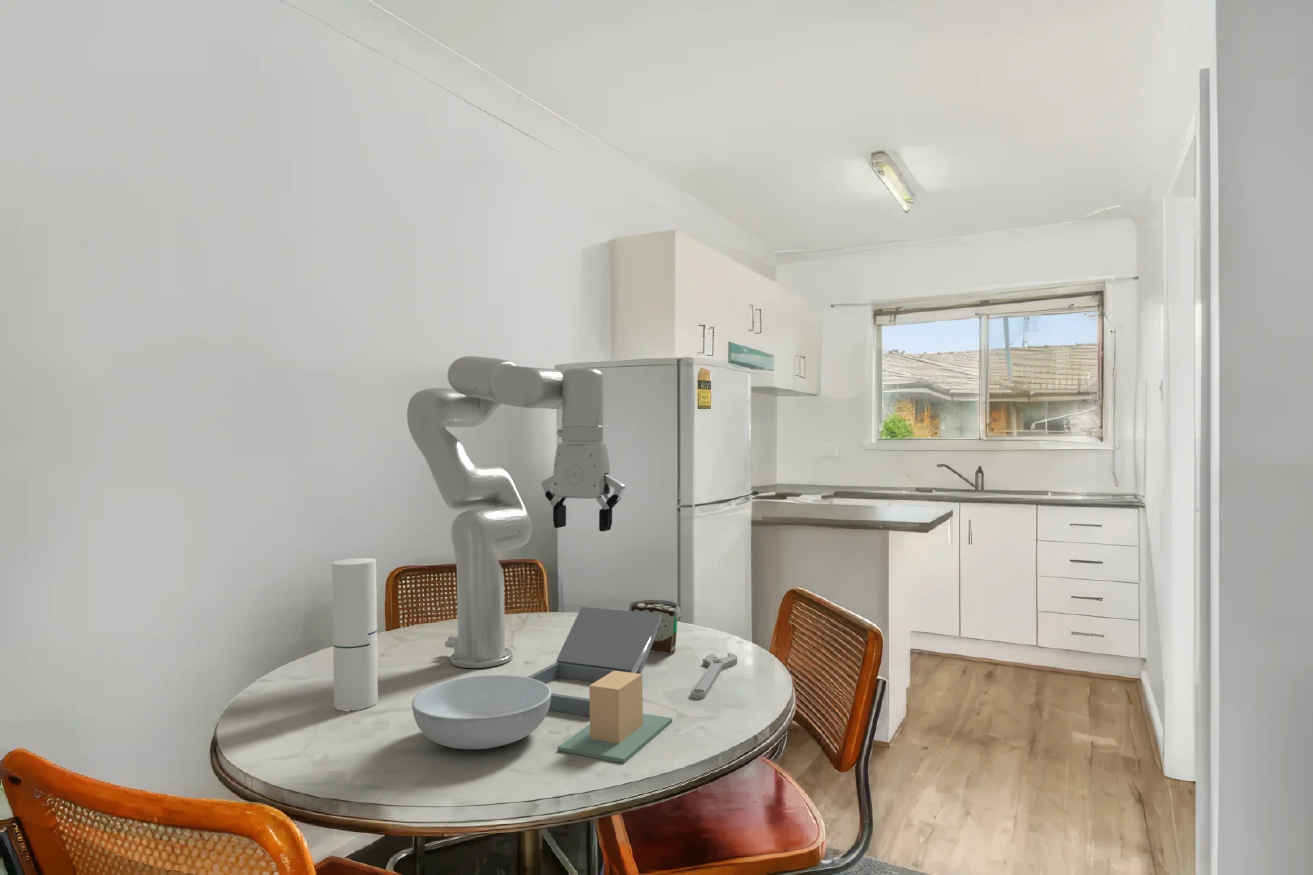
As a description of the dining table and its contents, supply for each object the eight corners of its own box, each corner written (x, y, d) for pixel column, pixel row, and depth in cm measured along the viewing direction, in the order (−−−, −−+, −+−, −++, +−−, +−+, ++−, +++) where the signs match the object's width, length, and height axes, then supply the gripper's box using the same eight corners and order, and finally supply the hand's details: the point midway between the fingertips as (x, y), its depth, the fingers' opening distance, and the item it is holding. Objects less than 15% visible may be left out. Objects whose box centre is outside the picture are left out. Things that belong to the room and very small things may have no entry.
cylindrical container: (386, 699, 136) (384, 558, 136) (358, 713, 129) (356, 565, 129) (353, 695, 138) (352, 557, 138) (324, 708, 132) (322, 563, 132)
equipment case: (505, 702, 133) (504, 638, 133) (583, 660, 158) (583, 606, 158) (595, 717, 126) (594, 648, 126) (663, 670, 151) (662, 613, 151)
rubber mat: (557, 750, 112) (557, 746, 112) (611, 712, 128) (611, 708, 128) (624, 763, 108) (624, 758, 108) (672, 721, 123) (672, 717, 123)
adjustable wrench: (704, 702, 134) (703, 692, 133) (669, 699, 136) (669, 689, 136) (740, 661, 157) (740, 653, 157) (710, 659, 159) (710, 650, 159)
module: (590, 738, 115) (589, 685, 115) (614, 720, 123) (614, 670, 123) (619, 743, 113) (618, 689, 113) (642, 724, 121) (642, 674, 121)
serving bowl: (562, 756, 111) (561, 708, 111) (410, 776, 105) (410, 725, 105) (541, 707, 131) (541, 667, 131) (413, 722, 125) (413, 680, 125)
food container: (692, 648, 166) (691, 602, 166) (677, 655, 161) (676, 608, 161) (644, 641, 172) (644, 597, 172) (629, 647, 167) (628, 602, 167)
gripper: (531, 435, 141) (531, 528, 141) (614, 436, 133) (613, 534, 134) (554, 435, 148) (553, 523, 148) (633, 436, 140) (633, 529, 140)
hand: (582, 528), depth 141 cm, fingers open, 9 cm apart
